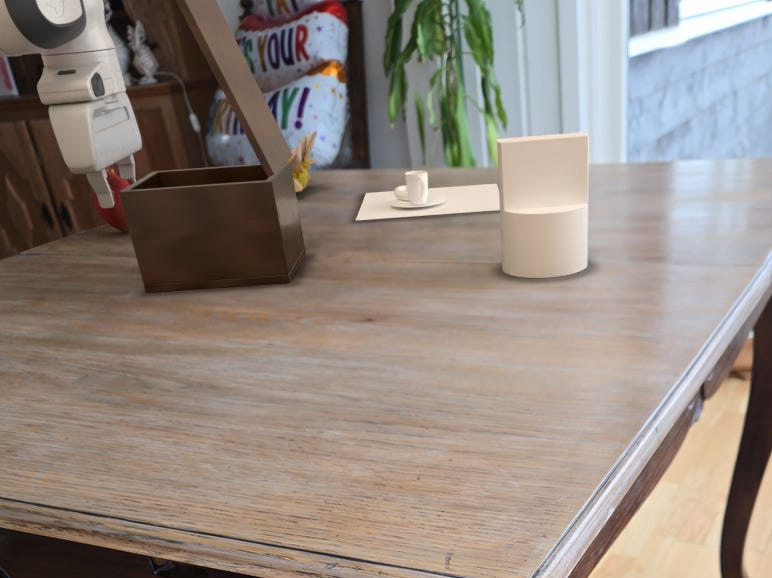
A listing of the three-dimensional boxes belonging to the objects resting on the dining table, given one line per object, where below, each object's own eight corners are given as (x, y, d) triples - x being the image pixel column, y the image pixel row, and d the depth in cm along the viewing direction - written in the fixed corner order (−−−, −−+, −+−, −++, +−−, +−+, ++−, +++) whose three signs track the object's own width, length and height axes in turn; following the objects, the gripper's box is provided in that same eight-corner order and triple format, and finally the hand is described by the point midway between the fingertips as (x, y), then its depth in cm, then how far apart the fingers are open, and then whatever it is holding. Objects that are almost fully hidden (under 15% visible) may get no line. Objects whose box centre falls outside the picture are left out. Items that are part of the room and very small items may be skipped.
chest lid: (171, -8, 80) (178, -13, 80) (203, -8, 90) (209, -12, 90) (267, 177, 89) (274, 174, 89) (286, 158, 99) (293, 155, 99)
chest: (145, 292, 95) (118, 192, 90) (175, 263, 106) (152, 171, 100) (290, 282, 95) (272, 181, 89) (306, 254, 105) (290, 161, 100)
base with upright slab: (506, 281, 90) (501, 147, 83) (498, 259, 98) (492, 135, 91) (594, 273, 91) (596, 139, 84) (579, 253, 98) (580, 128, 91)
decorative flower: (254, 173, 146) (255, 104, 139) (323, 187, 146) (327, 119, 140) (230, 199, 134) (229, 125, 128) (304, 214, 135) (307, 141, 129)
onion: (146, 234, 121) (128, 168, 116) (101, 239, 120) (82, 172, 115) (148, 225, 125) (131, 162, 121) (105, 230, 124) (87, 166, 120)
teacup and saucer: (391, 200, 129) (388, 169, 127) (446, 196, 129) (443, 165, 127) (388, 212, 122) (384, 179, 120) (446, 208, 122) (443, 175, 120)
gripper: (89, 74, 120) (121, 187, 128) (30, 89, 104) (71, 217, 112) (135, 70, 120) (164, 183, 128) (83, 84, 104) (120, 213, 112)
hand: (120, 199), depth 120 cm, fingers open, 8 cm apart
